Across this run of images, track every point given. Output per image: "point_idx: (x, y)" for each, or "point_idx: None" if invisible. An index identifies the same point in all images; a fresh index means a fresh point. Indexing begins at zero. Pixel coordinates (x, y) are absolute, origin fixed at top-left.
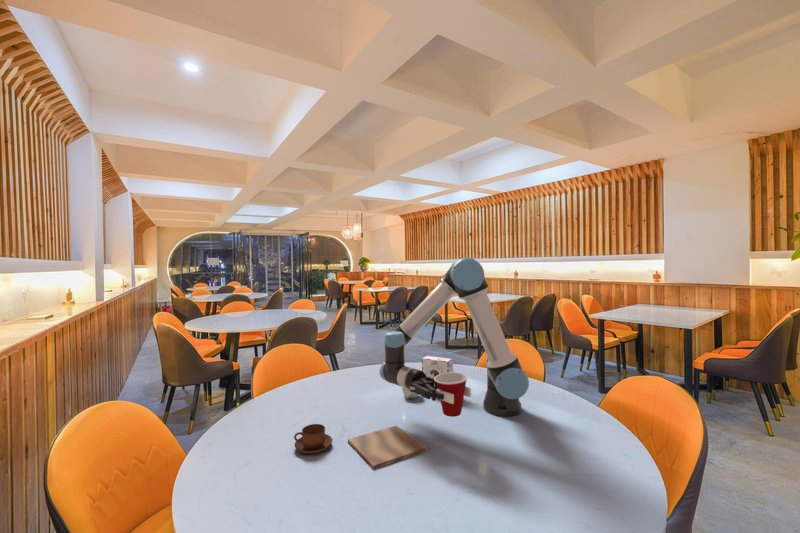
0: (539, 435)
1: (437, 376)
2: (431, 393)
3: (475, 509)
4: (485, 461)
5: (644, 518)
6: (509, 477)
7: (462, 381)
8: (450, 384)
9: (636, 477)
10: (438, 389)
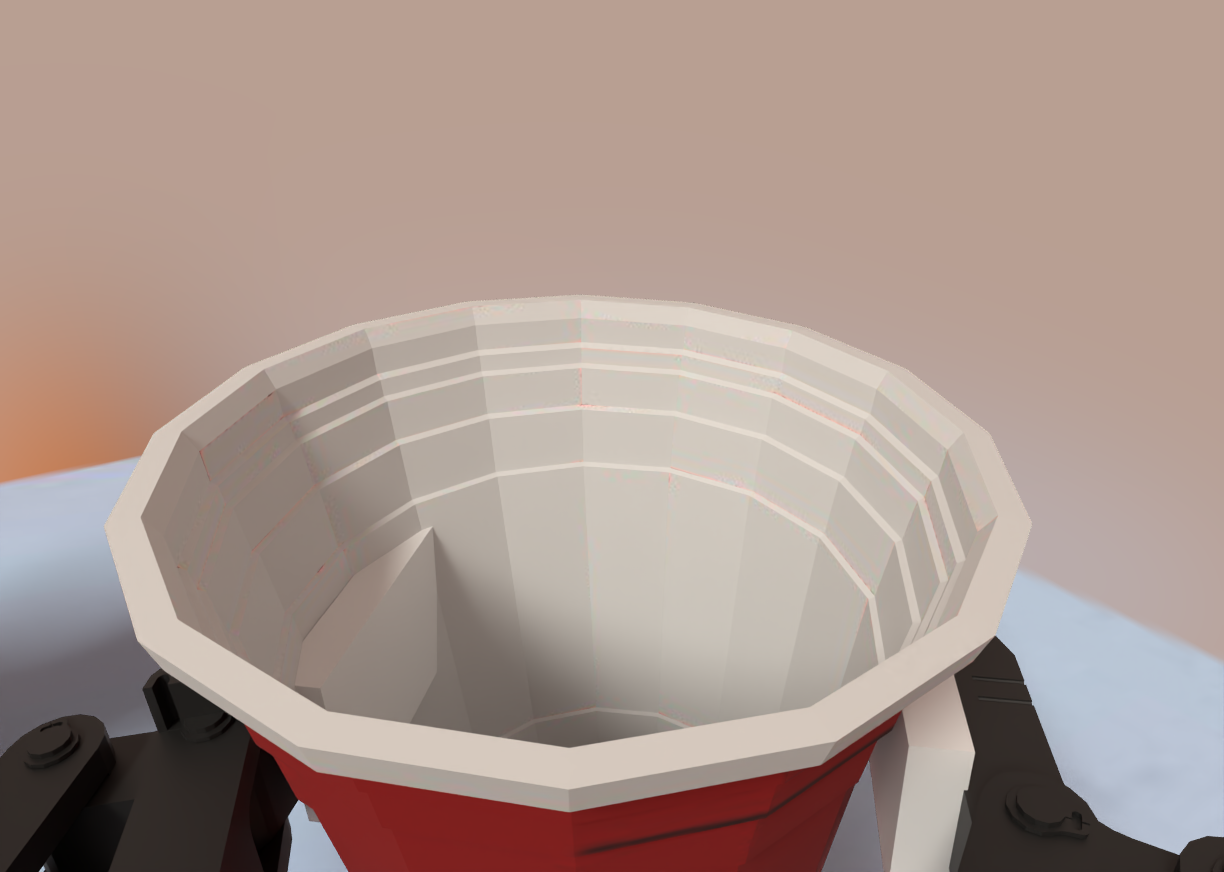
0: (76, 713)
1: (596, 747)
2: (1143, 858)
3: (1103, 684)
4: None
5: None
6: None
7: (666, 307)
8: (853, 392)
9: None
10: (913, 733)
